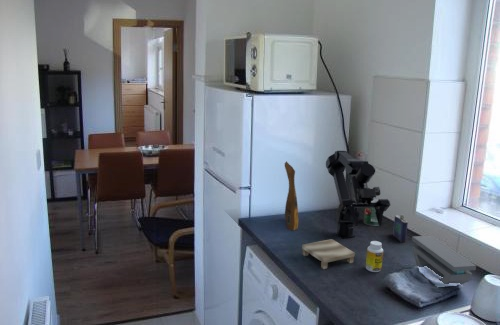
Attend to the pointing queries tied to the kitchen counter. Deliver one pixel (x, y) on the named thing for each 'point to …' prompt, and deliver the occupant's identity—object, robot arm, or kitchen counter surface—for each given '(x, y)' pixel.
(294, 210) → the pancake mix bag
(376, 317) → the kitchen counter surface
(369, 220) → the canned tomato
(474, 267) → the sharpening stone
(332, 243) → the beige wooden stand
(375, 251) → the supplement bottle
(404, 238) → the flask
